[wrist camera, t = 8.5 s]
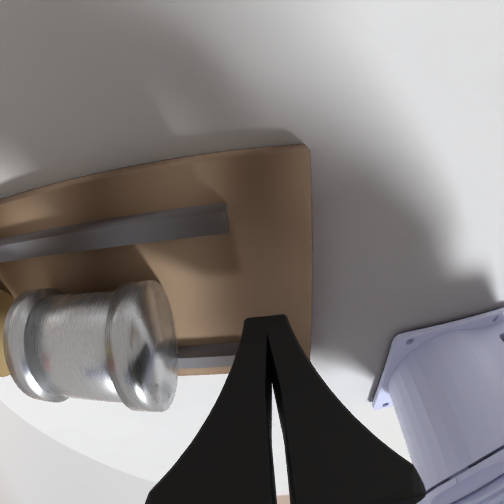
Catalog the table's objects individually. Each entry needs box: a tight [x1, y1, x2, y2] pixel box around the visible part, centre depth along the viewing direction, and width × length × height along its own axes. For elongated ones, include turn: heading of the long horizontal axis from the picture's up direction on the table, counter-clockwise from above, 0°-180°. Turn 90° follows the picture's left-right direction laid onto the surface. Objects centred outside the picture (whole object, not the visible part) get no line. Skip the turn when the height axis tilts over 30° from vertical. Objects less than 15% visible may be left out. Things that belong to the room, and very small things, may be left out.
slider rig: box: [0, 144, 312, 377], centre depth 10 cm, size 22×11×9 cm, turn 96°
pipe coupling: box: [3, 280, 178, 412], centre depth 11 cm, size 6×5×5 cm
